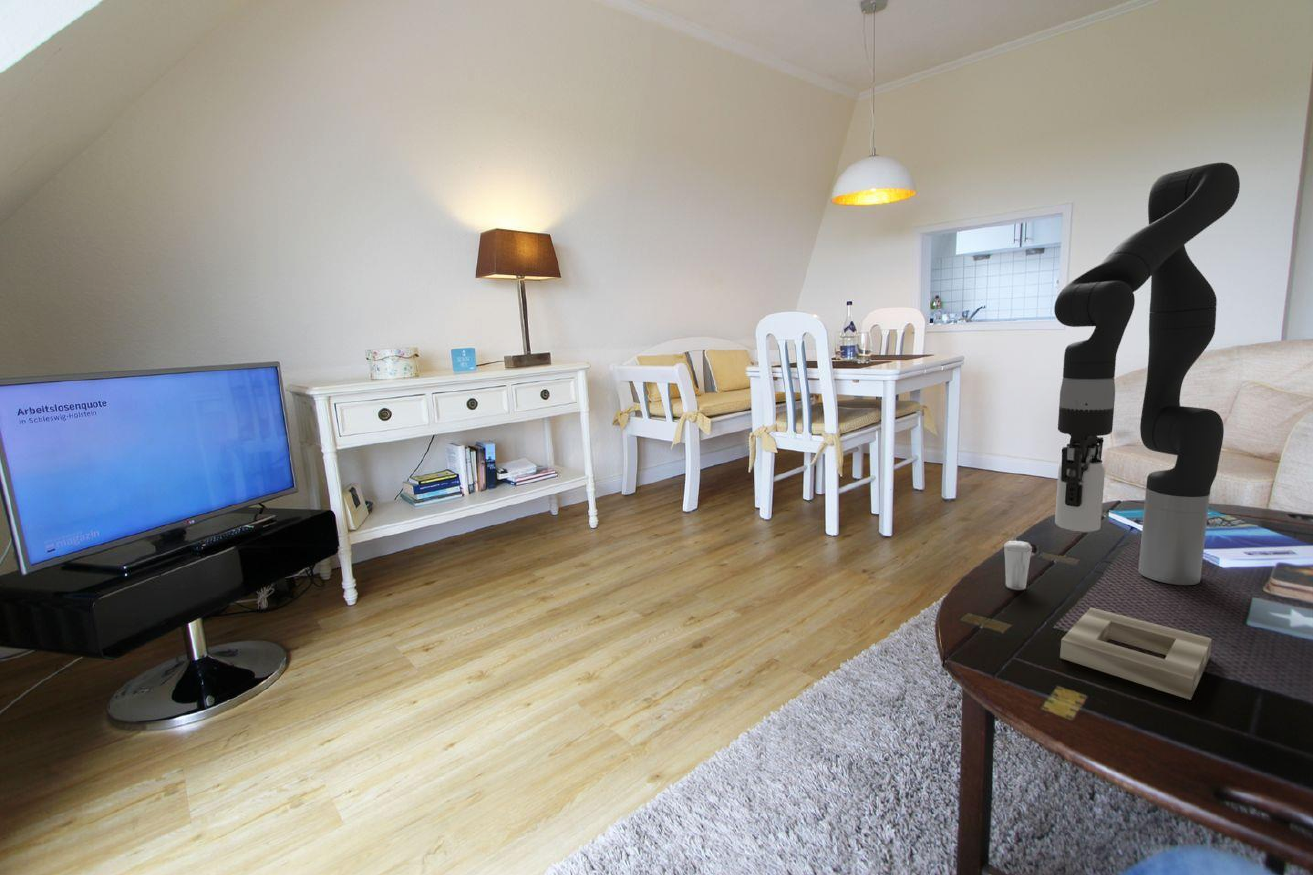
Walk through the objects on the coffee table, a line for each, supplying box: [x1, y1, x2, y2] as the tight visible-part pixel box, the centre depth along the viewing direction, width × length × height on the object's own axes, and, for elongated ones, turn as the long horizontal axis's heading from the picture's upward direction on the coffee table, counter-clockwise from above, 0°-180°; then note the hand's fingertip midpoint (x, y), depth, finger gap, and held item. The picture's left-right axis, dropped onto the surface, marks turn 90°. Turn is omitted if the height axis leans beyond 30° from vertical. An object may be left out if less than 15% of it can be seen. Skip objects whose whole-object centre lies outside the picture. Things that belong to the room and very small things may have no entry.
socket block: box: [1059, 607, 1213, 701], centre depth 90 cm, size 15×15×3 cm
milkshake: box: [1003, 531, 1033, 591], centre depth 116 cm, size 4×5×10 cm
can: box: [1054, 457, 1106, 534], centre depth 104 cm, size 6×6×12 cm
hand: (1079, 501), depth 104 cm, fingers closed on can, 6 cm apart
